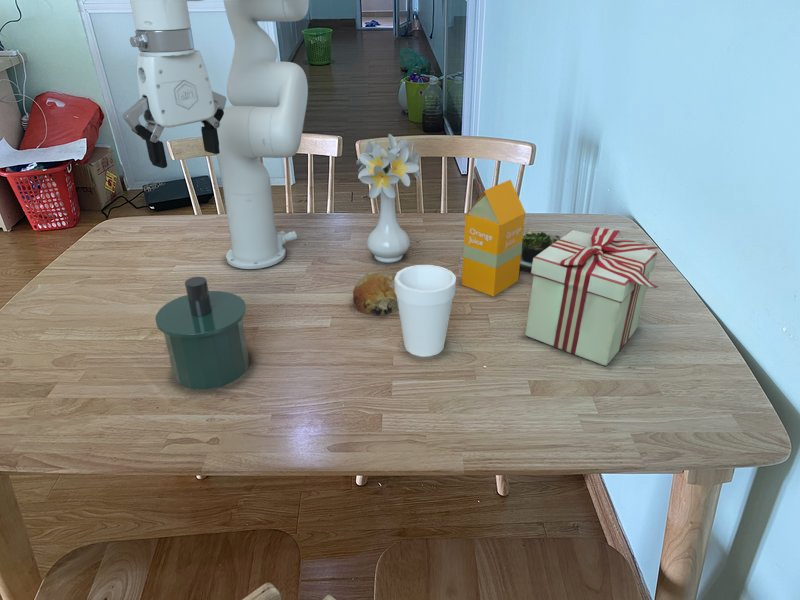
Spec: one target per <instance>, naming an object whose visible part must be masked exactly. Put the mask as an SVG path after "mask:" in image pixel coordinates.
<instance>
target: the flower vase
mask: <svg viewBox="0 0 800 600" xmlns="http://www.w3.org/2000/svg"><path fill="white" fill-rule="evenodd" d="M387 136H388V140H389V145H387V149H388V151H387V150H386V149H385V148H384V147H383V148H382V147H381V146H380V144H377V138H375V139H374V141H373V143H372V142H371V141H370V140H368V141H367V142H366V145H365V153H363V152H362V153H360V154H359V155H358V159H357V160H356V163H355V164H356V165H360V167H359V168H358V170H357V172H358V176H357V179H359V181H360V182H361V183H362V184H365V185H371V187H370V189H369V190H368V197H369V199H370V200H371V199H373V200H375V199H376V198H377V197H379V195H380V200H379V201H380V202H379V203H380V204H379V207H380V208H379V218H378V221H377V224H376V226H375V228H374V229H372V230H371V231H370V233H369V234H368V235H367V238H366V248H367V250H368V251H369V252H370V253H371V254H372V255H373V257H374V259H375V260H376V261H378V262H380V263H385V264H386V263H388V264H390V263H391V264H392V263H396V262H399V261H401V260H402V259H403V257H404V254H406V253H407V251H408V250H409V249H410V247H411V239H410V237H409V234H408V233H407V232H406V230H404V229H403V227H401V225H400V223H399V220H398V217H397V211H396V210H397V209H396V183H397V184H398V182H399V181H401V183H402V184H403V185H404V186H405V187H410V186H411V179H410V176H409V175H408V174H413V176H414V178H415V179H416V180H417V181H419V179H421V178H422V175H421V172H420V165H419V164H418V163H419V159H420V155H419V153H418V152H415V142H412V145H411V148H410V151H409V145H410V144H409V141H408V140H407V139H401V140H400V141H399V142H398V143H397V140H396V138H395V137H394V136H393V135H392V134H391V133H388V135H387ZM389 164H390V165H389ZM389 166H390V167H389Z"/></svg>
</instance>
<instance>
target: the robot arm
mask: <svg viewBox="0 0 800 600" xmlns="http://www.w3.org/2000/svg"><path fill="white" fill-rule="evenodd" d="M202 1H204V0H129V2H130V7H131V12H132V13H131V14H132V17H133V23H134V28H135V30H134V33H135V36H130V38H129V43H130V46H131V47H132V48H138V51H139V53H140V54H136V55H137V56H136V78H137V79H136V80H137V88H138V97H139V99H138V100H137V101H136V102H135V103H134V104H133V105H132V106H130V107H129V108H128V109H127V110H126V111H125V112H123V114H122V118H123V120H124V121H125V122H126V124H127V125H128V126H129V127H130V128H131V132H133V133H134V134H136V135H137V136H138V137H140V138H141V139H142V140H143V141H145V145H146V149H147V154H148V159H149V161H150V162H151V165H152V166H154V167H157V168H160V169H165V168H167V167H168V162H167V161H168V160H167V156H166V151H165V146H164V143H163V141H162V140H160V138H161V136H162V133H163V131H164V129H165V128H175V127H180V126H181V127H182V126H185V125H189V124H195V123H201V124H202V125H203V126H201V127H200V131H201V136H202V142H203V144H202V145H203V149H204V151H205V152H206V153H209V154H214V155H215V157H216V160H217V163H218V168H219V173H220V179H221V185H222V191H223V197H224V204H225V210H226V218H227V224H228V230H229V236H230V244H231V248H230V249H228V250H227V251H226V254H225V261H226V263H227V264H228V265H230V266H231V267H233V268H237V269H241V270H242V269H243V270H258V269H265V268H269V267H272V266H275V265H277V264H279V263H280V262H282V261H283V260H284V259H285V258H286V255H287V251H286V248H285V246H284V245H286V243H288V242H293V241H296V240H297V239H298V236H297V232H296V231H295V230H293V231H289V232H287V233H286V232H285V231H284V230H280V231H278V232H277V228H276V227H277V226H276V219H275V209H274V201H273V192H272V183H271V182H272V181H271V177H270V174H269V171H268V169H267V168H266V166H265V165H264V163H263V162H262V161H261V159H259V158H264V159H265V158H266V159H267V158H269V159H280V158H281V159H285V158H291V157H293V156H295V155H296V154H297V153H298V151H299V149H300V146H301V142H302V138H303V137H302V136H303V130H304V125H305V124H304V123H305V116H306V111H307V106H308V97H309V85H308V79H307V75H306V73H305V71H304V69H303V68H302V67H301V66H300V65H299V64H297V63H295V62H292V61H277V60H278V49H277V46H276V44H275V41H274V40H273V39H272V38H271V36H270V34H268V33H267V32H266V30H264V29H263V28H262V27H261V26H260V25H259V23H258V22H272V23H273V22H278V23H279V22H280V23H281V22H282V23H283V22H284V23H285V22H288V23H289V22H291V23H293V22H298V21H302V20H303V19H304V18H305V17H306V16H307V14H308V12H309V6H310V0H223V5H224V9H225V14H226V17H227V20H228V24H229V28H230V30H231V33H232V37H233V41H234V50H233V54H232V55H233V56H232V59H231V64H230V69H229V74H228V78H227V84H226V96H227V97H226V96H225V95H222V94H221V93H217V91H213V90H212V86H211V82H210V77H209V74H208V71H207V68H206V67H207V66H206V64H205V61H204V59H203V56H202V53H201V51H200V50H196V49H195V44H194V38H193V31H192V26H191V19H190V13H189V12H190V11H189V7H188V6H189V5H188V2H202ZM227 99H228V102H229V103H230V104H231V105H228V106H226V104H227ZM141 115H142V116H143V119H144V121H145V122H146V123H145V125H142V123H141V122H140V119H139V118H140V116H141Z"/></svg>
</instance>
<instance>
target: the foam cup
mask: <svg viewBox="0 0 800 600" xmlns="http://www.w3.org/2000/svg"><path fill="white" fill-rule="evenodd" d="M394 276H395V278H394V279H395V294H396V296H397V302H398V308H399V310H398V314H399V320H400V326H401V333H402V334H401V335H402V339H403V346H404V348H405V350H406V351H407V352H408V353H409V354H412V355H413V356H417V357H420V358H421V357H422V358H423V357H425V358H426V357H433V356H435V355H438V354H440V353H441V352H442V351H443V350H444V348H445V343H446V336H447V332H448V326H449V321H450V316H451V311H452V305H453V300H454V298H455V295H456V291H457V277H456V275H455V274H454V273H453V270H450V269H448V268H445V267H444V266H439V265H434V264H415V265H411V266H406V267H403V268H402V269H400V270H399V271H397V272H396V274H395V275H394Z"/></svg>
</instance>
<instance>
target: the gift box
mask: <svg viewBox="0 0 800 600" xmlns="http://www.w3.org/2000/svg"><path fill="white" fill-rule="evenodd" d="M619 233H620V230H616V229H611V228H606V227H605V228H604V227H599V226H596V227H595V228H594V230H593V233H592V234H591V233H587V232H583V231H579V230H575V229H571V230H570V231H569V232H567V233H566V234H564V235H563V237H561V238H560V239H559V240H557V241H556V242H555V243H553V244H552V245H550V246H549V247H548V248H546V249H545V250H544V251H542V252H541V253H539V254H538V255H537V256H535V257H534V258H533V263H532V270H531V272H530V274H531V275H532V284H531V290H530V298H529V304H528V311H527V319H526V326H525V333H524V335H525V336H526V337H528V338H531V339H533V340H536V341H539V342H542V343H543V344H547V345H549V346H552V347H554V348H556V349H559V350H562V351H565V352H566V353H569V354H571V355H572V354H573V355H575V356H578V357H580V358H583V359H586V360H588V361H591V362H594V363H596V364H599V365H602V366H605V367H606V366H608V365H609V364H610V362H611V361H613V360H614V358H615V357H616V355H617V354H618V353H619V352H620V351H621V350H622V349H623V347H624V345H626V344H627V343H628V341H629V340H630V339H631V338H632V336H633V335H634V333H635V332H636V331H637V328H638V325H639V320H640V317H641V312H642V307H643V304H644V299H645V297H646V291H647V288H650V289H651V288H652V289H656V288H659V285H655V284H654V283H652V282H651V281H650V280H649V279H650V276H651V275H650V274H651V272H652V271H653V270H654V268H655V265H656V261H657V256H658V252H657V251H655V249H656V250H657V249H660V247H658V246H654V245H653V246H652V245H649V244H646V243H645V244H644V243H641V242H638V241H634V240H626V239H622V240H621V239H620V240H615V238H616V237H617V236H618V234H619Z"/></svg>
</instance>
